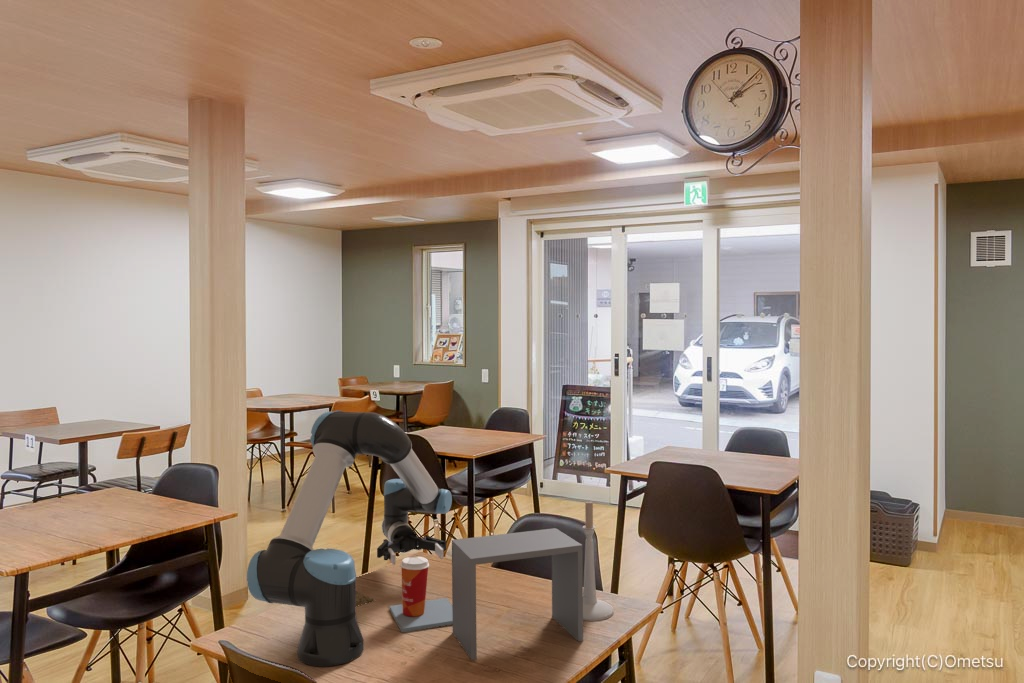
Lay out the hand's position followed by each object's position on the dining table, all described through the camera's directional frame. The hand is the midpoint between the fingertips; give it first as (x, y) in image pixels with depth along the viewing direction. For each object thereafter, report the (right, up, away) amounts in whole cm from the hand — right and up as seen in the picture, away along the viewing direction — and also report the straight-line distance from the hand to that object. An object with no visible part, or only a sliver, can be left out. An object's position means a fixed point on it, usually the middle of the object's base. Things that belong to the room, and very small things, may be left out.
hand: (418, 557), depth 204 cm
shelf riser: (+27, -13, -23) cm, 38 cm away
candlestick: (+47, -13, -7) cm, 49 cm away
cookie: (-20, -13, +2) cm, 25 cm away
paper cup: (0, -12, -10) cm, 16 cm away
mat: (+3, -13, -10) cm, 16 cm away
